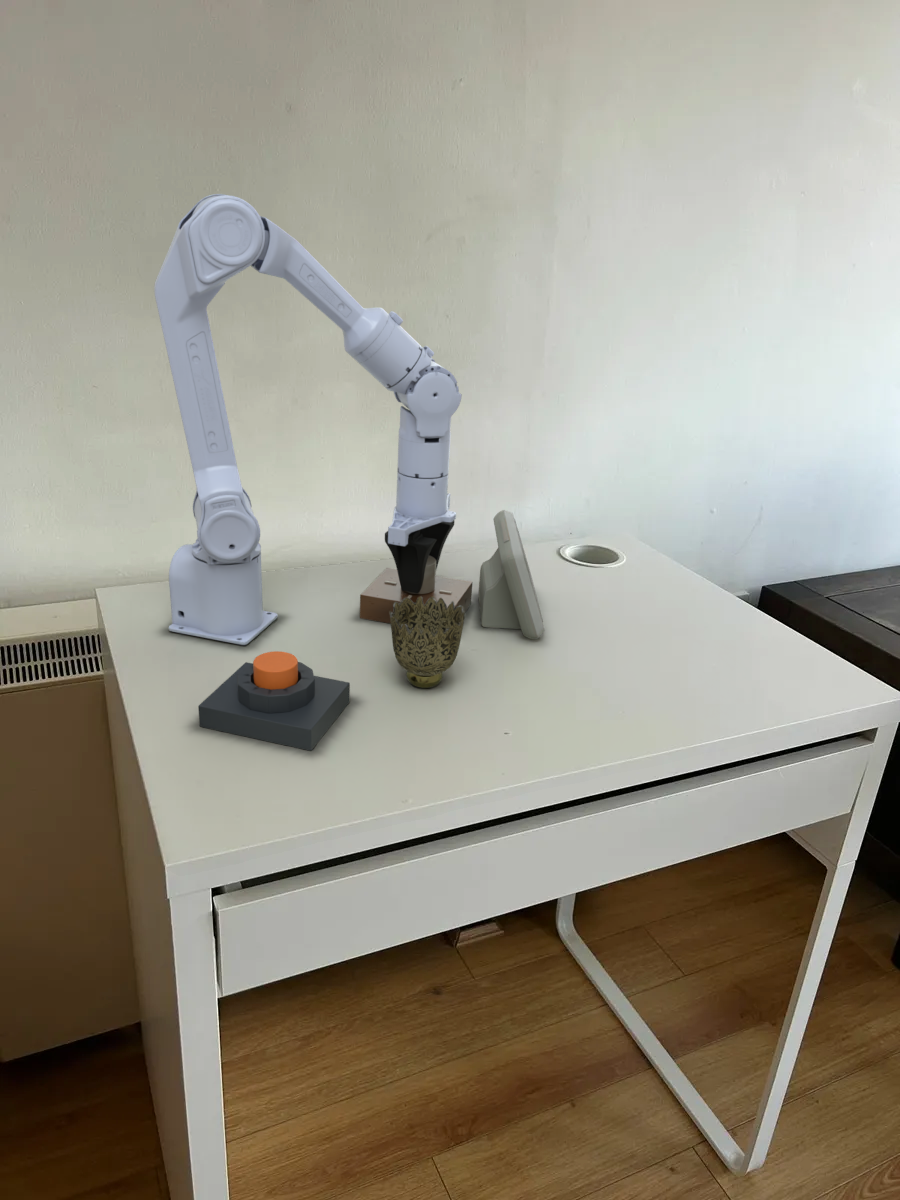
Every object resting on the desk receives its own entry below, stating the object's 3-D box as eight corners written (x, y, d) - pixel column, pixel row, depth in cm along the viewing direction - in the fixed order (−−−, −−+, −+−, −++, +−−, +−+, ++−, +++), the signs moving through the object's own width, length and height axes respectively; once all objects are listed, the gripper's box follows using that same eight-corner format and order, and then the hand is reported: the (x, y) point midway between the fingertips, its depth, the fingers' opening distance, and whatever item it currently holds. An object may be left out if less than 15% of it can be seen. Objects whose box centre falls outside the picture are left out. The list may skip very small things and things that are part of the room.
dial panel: (359, 618, 104) (360, 593, 103) (386, 589, 112) (386, 566, 111) (450, 634, 102) (452, 609, 100) (471, 604, 110) (472, 580, 108)
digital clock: (541, 647, 100) (551, 558, 96) (462, 636, 101) (468, 548, 97) (553, 591, 115) (562, 512, 110) (483, 582, 116) (490, 503, 112)
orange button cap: (246, 686, 82) (245, 666, 81) (266, 667, 85) (265, 647, 84) (286, 695, 81) (286, 674, 80) (305, 674, 84) (305, 655, 83)
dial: (425, 597, 103) (427, 566, 102) (394, 589, 105) (395, 559, 103) (440, 585, 107) (442, 555, 105) (410, 578, 108) (411, 548, 107)
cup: (452, 705, 88) (457, 631, 84) (379, 694, 89) (381, 620, 85) (466, 670, 94) (471, 600, 91) (398, 660, 95) (400, 591, 92)
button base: (199, 726, 82) (196, 688, 80) (246, 681, 90) (245, 645, 88) (311, 751, 79) (310, 711, 77) (349, 702, 87) (350, 665, 85)
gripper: (434, 494, 93) (427, 613, 98) (477, 461, 105) (469, 569, 111) (371, 484, 95) (368, 601, 100) (420, 453, 107) (416, 559, 113)
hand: (417, 584), depth 106 cm, fingers closed on dial, 4 cm apart
